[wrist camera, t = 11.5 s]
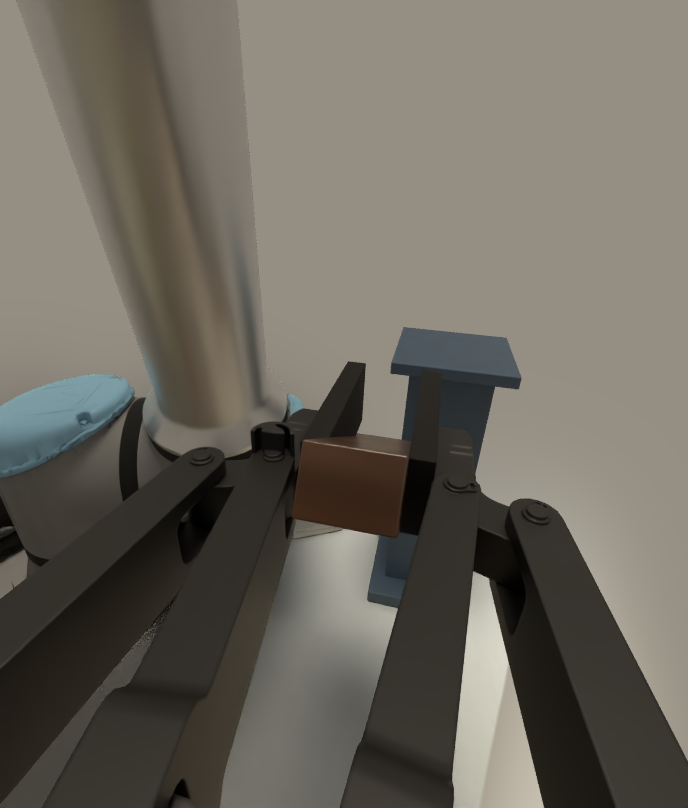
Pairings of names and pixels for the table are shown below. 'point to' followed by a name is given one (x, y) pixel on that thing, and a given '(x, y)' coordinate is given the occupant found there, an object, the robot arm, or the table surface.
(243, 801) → the table surface
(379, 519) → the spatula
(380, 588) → the stand
